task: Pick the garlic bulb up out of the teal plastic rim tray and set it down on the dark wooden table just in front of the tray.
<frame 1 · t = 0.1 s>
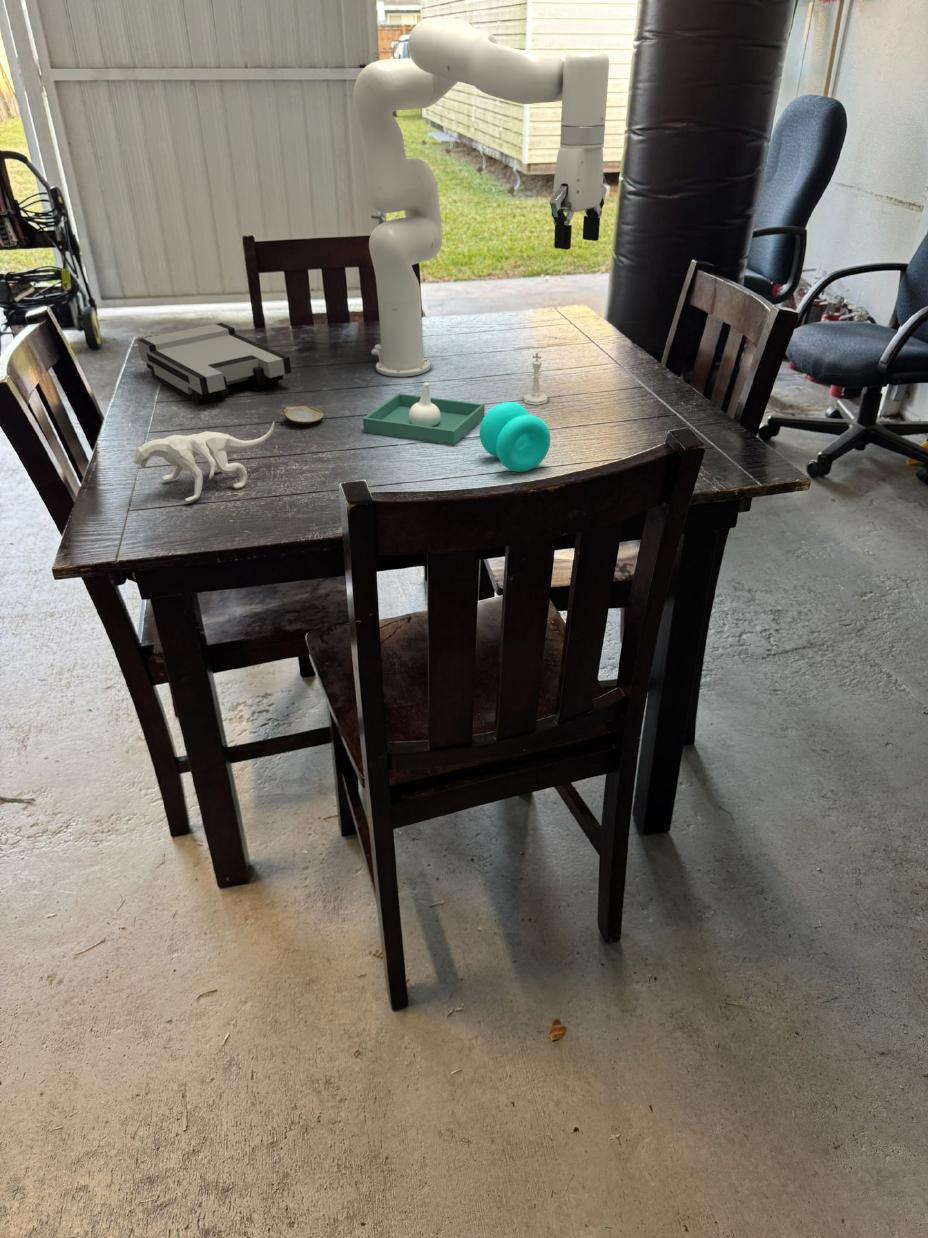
hand: (576, 244, 155), 31 cm above the table, tool pointing down, fingers open, 9 cm apart
white animal figurine: (215, 484, 145), on the table
turquoise yo-yo: (514, 464, 150), on the table
tray: (425, 424, 166), on the table
seashell: (303, 422, 169), on the table
chess piece: (535, 401, 176), on the table
game console: (217, 382, 190), on the table
garlic bulb: (425, 424, 166), resting on tray
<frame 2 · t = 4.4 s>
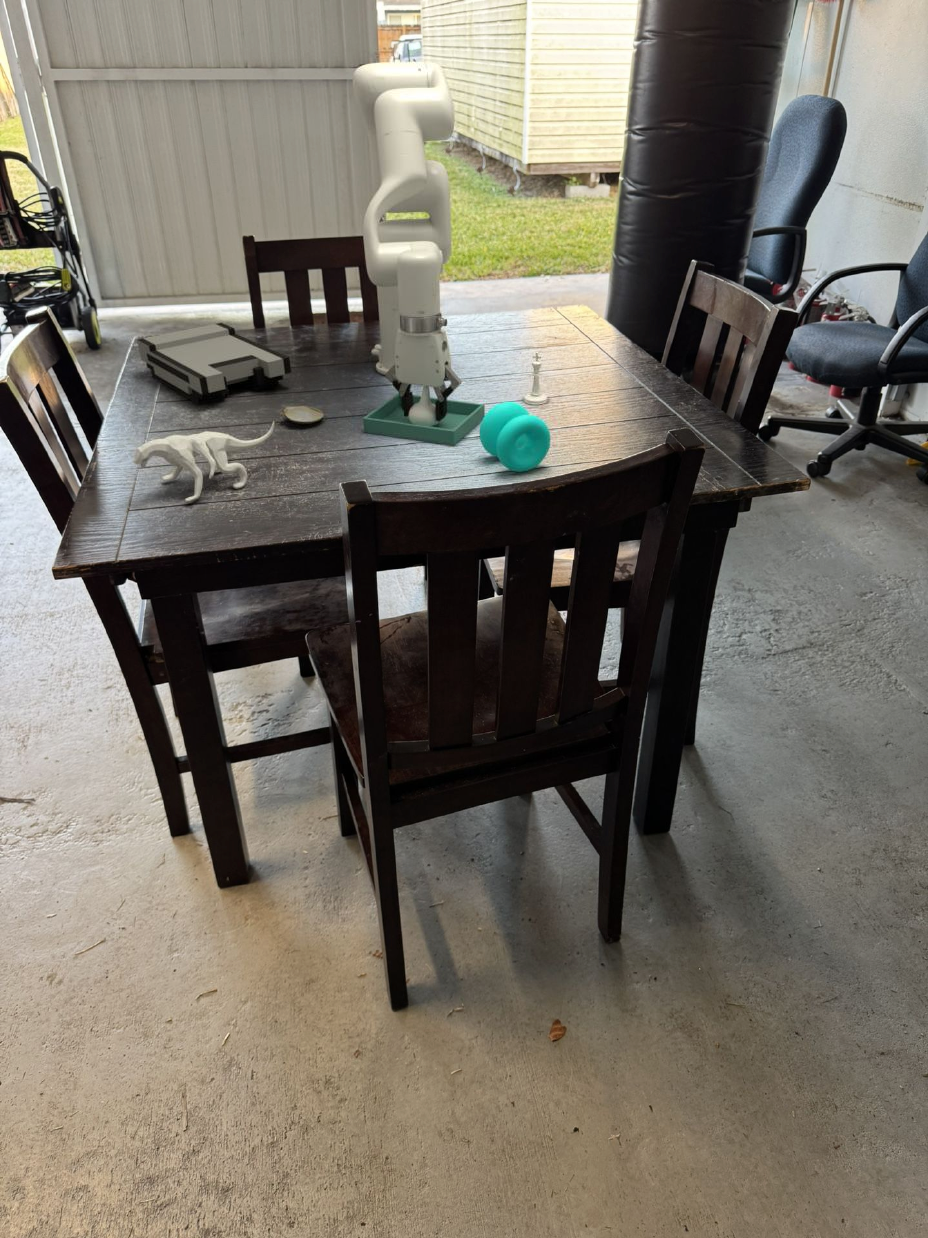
hand: (424, 415, 165), 2 cm above the table, tool pointing down, fingers closed on garlic bulb, 6 cm apart
garlic bulb: (425, 424, 166), resting on tray, touching gripper
everything else where it was.
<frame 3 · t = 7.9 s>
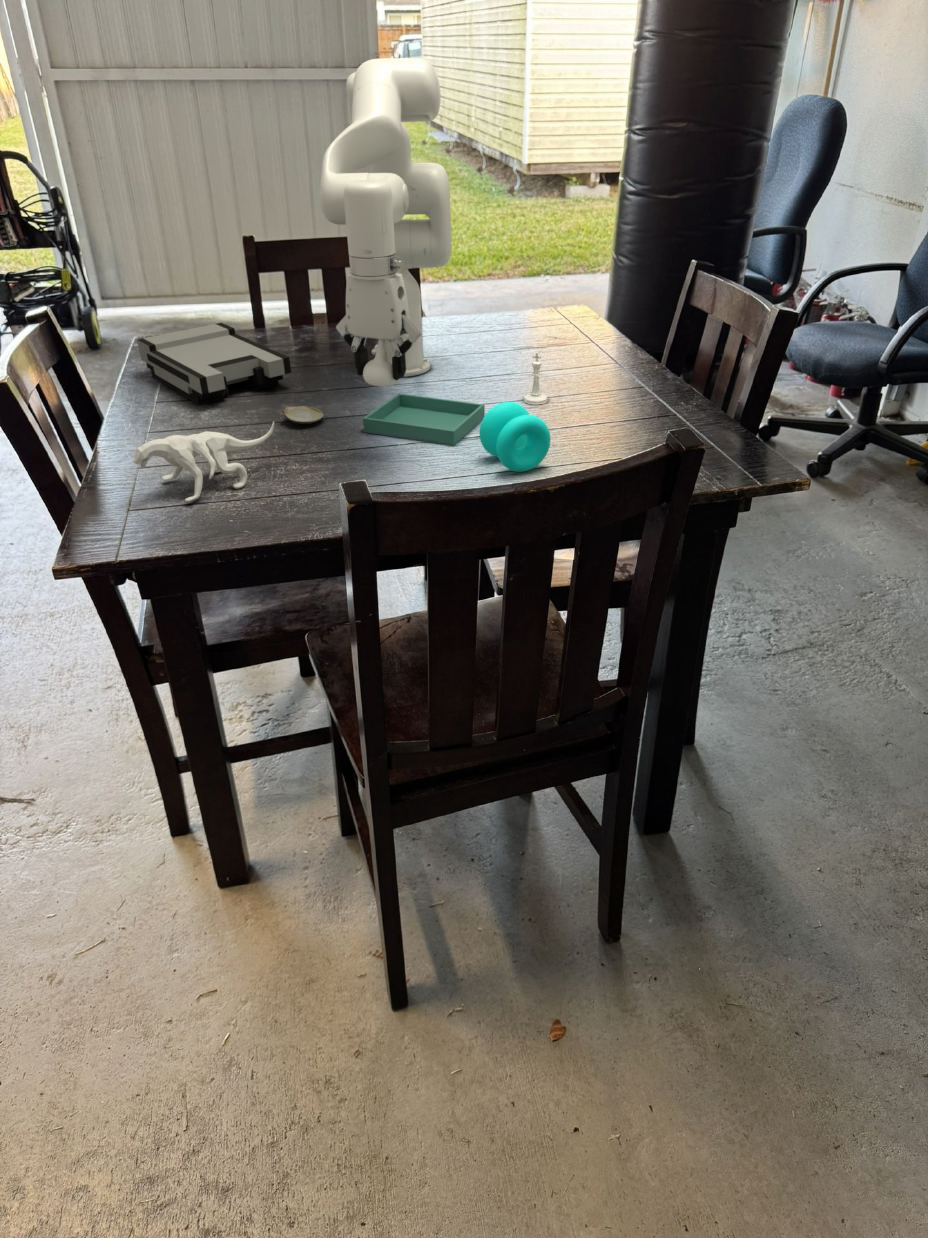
hand: (381, 374, 146), 15 cm above the table, tool pointing down, fingers closed on garlic bulb, 6 cm apart
garlic bulb: (381, 384, 147), point 13 cm above the table, touching gripper
everything else where it was.
when the fingers open (2 cm above the table, at t = 11.4 s): garlic bulb stays where it is, on the table.
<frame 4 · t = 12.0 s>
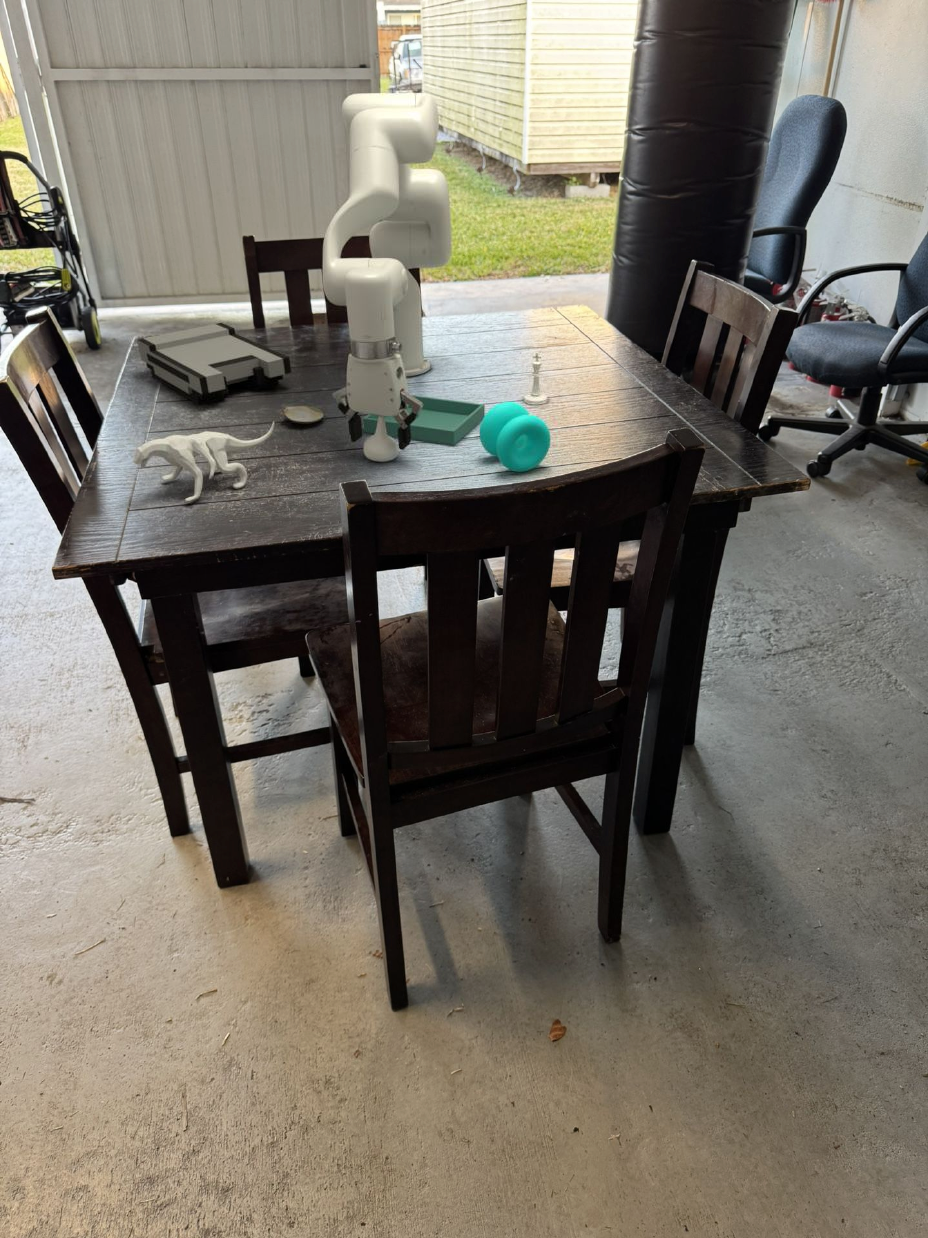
hand: (380, 443, 151), 3 cm above the table, tool pointing down, fingers open, 9 cm apart
garlic bulb: (381, 458, 153), on the table
everything else where it was.
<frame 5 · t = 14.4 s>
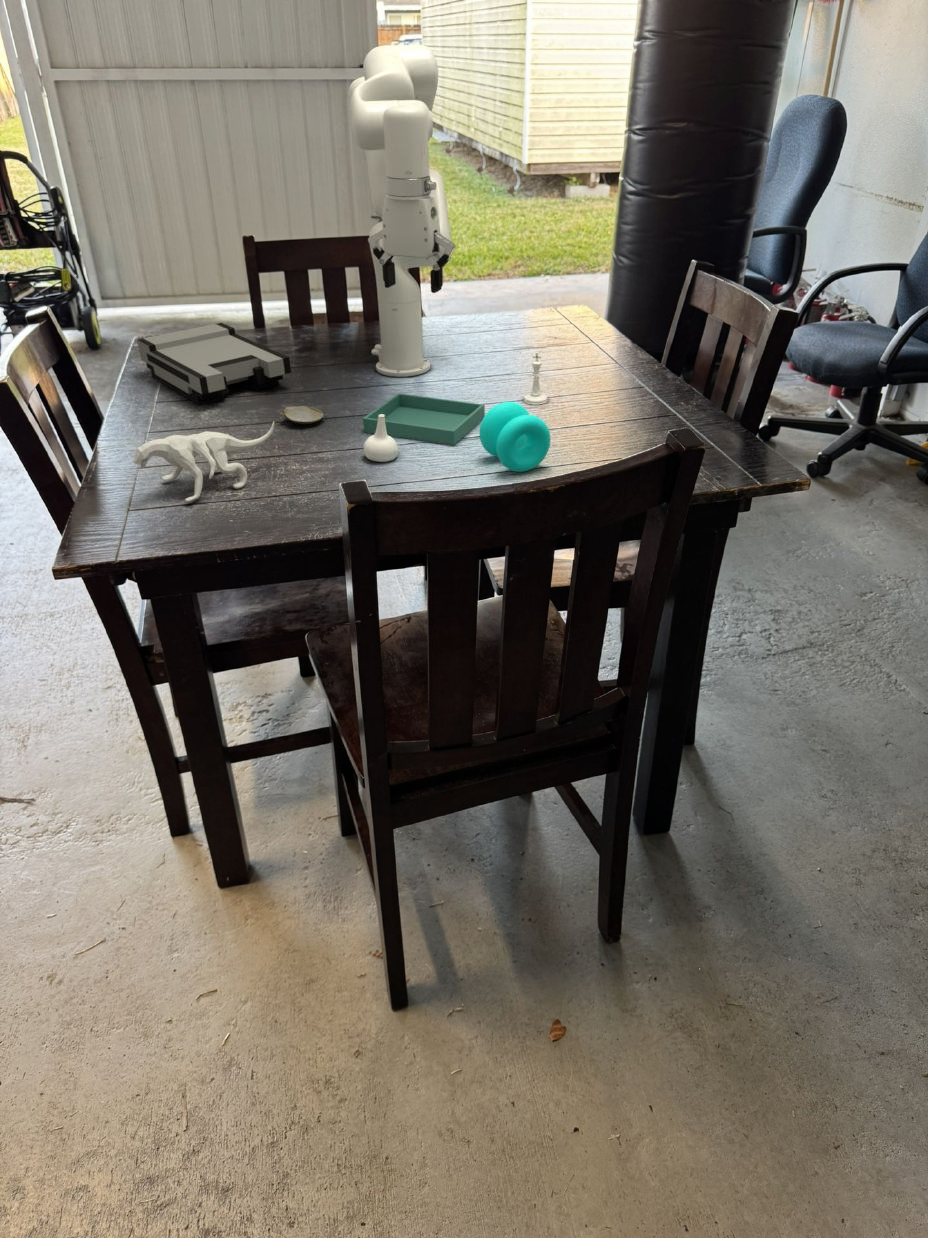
hand: (413, 288, 158), 24 cm above the table, tool pointing down, fingers open, 9 cm apart
nothing on the table moved.
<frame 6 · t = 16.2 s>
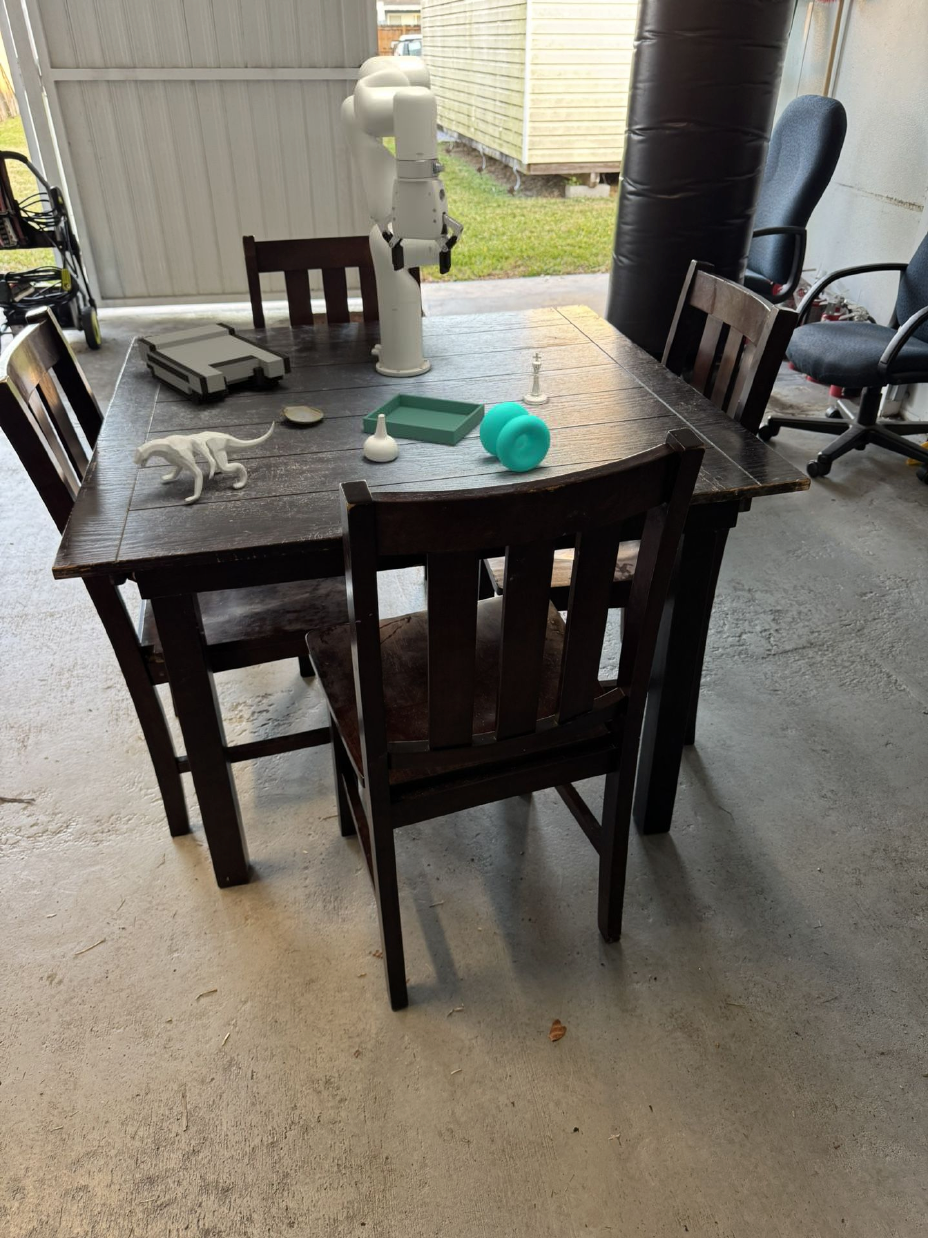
hand: (421, 270, 161), 26 cm above the table, tool pointing down, fingers open, 9 cm apart
nothing on the table moved.
at the end: garlic bulb inside the target area (0.1 cm from its centre), on the table; garlic bulb touching table; the gripper is holding nothing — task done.
